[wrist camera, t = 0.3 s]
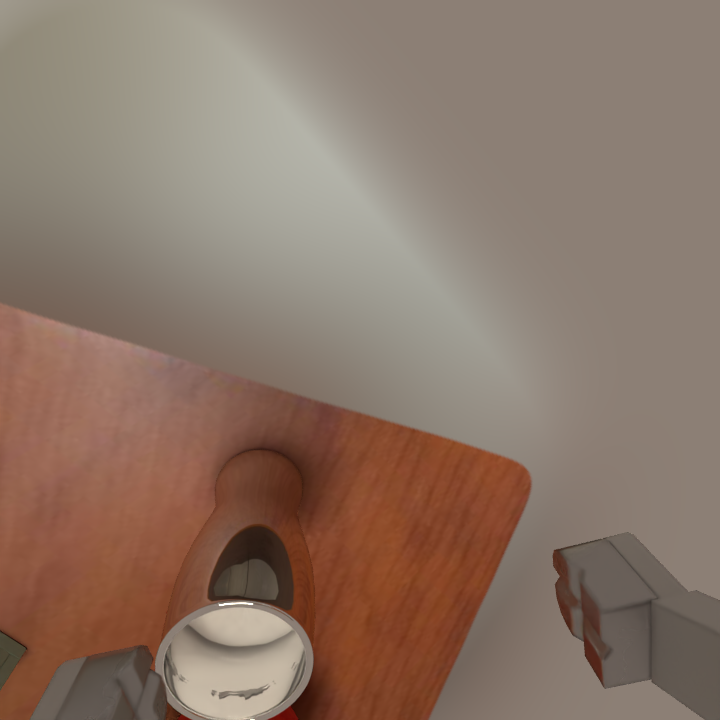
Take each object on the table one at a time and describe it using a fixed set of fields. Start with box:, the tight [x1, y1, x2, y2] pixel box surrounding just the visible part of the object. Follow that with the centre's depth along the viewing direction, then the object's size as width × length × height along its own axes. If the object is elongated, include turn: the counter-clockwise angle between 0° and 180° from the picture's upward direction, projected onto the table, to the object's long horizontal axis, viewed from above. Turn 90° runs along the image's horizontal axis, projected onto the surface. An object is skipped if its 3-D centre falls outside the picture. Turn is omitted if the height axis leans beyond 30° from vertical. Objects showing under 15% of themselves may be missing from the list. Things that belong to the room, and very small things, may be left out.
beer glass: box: [155, 449, 315, 720], centre depth 28 cm, size 7×7×15 cm
